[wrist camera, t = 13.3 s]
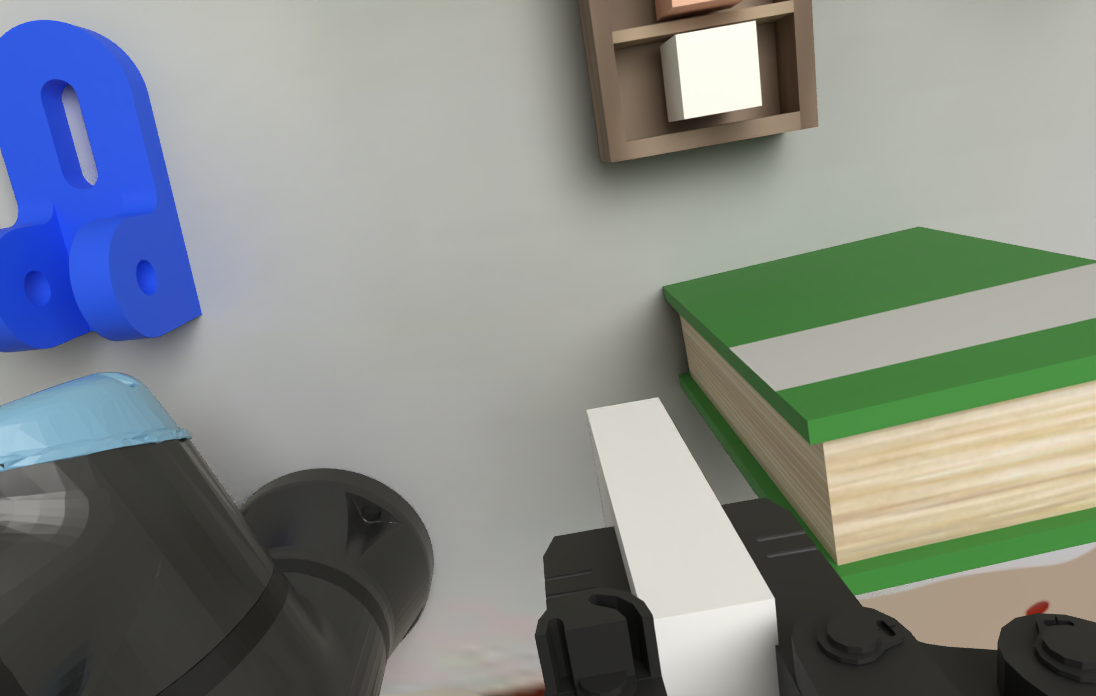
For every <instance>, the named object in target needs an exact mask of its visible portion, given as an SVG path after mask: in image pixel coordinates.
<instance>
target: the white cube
mask: <svg viewBox="0 0 1096 696" xmlns="http://www.w3.org/2000/svg"><path fill="white" fill-rule="evenodd" d="M660 52H661V61H662V70H663V79H664V87H665V96H666V105H667V114H668V122H672V121H678V120H684V119H690V118H695V117H701V116H707V115H712V114H718V113H724V112H729V111H735V110H741V109H746V108H752V107H757V106H762V98H761V85H760V71H759V58H758V45H757V31H756V21H751V22H745V23H740V24H734V25H728V26H722V27H717V28H711V29H705V30H700V31H694V32H688V33H683V34H677V35H674V36H673V37H672V38H670V39H669V40H668V41H666V42H665V43H663V44H662V45H661V46H660Z"/></svg>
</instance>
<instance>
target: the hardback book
mask: <svg viewBox="0 0 1096 696" xmlns="http://www.w3.org/2000/svg"><path fill="white" fill-rule="evenodd" d="M663 291H664V296H665V300H666V301H667V302H668V303H669V304H670V305H671V306H672V307H673V308H674V309H675V310H676V311H677V312H678V313H679V314H680V319H681V325H682V330H683V336H684V341H685V347H686V353H687V358H688V364H689V369H690V372H688V373H684V374H680V375H679V378H680V384H681V387H682V389H683V390H684V392H685V393H686V395H687V396H688V397H689V399H690V400H691V402H692V403H693V405H694V406H695V407H696V409H697V410H698V412H699V413H700V415H701V416H702V417H703V419H704V420H705V422H706V423H707V425H708V426H709V427H710V429H711V430H712V432H713V433H714V435H715V436H716V438H717V439H718V440H719V442H720V443H721V445H722V446H723V448H724V449H725V450H726V452H727V453H728V455H729V456H730V458H731V459H732V460H733V462H734V463H735V465H736V466H737V468H738V469H739V470H740V472H741V473H742V475H743V476H744V478H745V479H746V480H747V482H748V483H749V485H750V486H751V488H752V489H753V491H754V492H755V493H756V495H757V496H758V498H759V499H760V498H767V499H769V500H771V501H773V502H774V503H776V504H778V505H780V506H782V507H783V508H785V509H787V510H789V511H790V512H791V513H792V514H793V516H794V517H795V518H796V520H797V521H798V522H799V524H800V525H801V526H802V528H803V529H804V531H805V534H808V535H809V537H810V538H811V539H812V541H813V542H814V543H815V545H816V547H817V550H820V551H821V553H822V554H823V555H824V557H825V558H826V559H827V560H828V562H829V563H830V564H831V566H832V567H833V568H834V570H835V571H836V572H837V574H838V575H839V576H840V578H841V579H842V580H843V581H844V583H845V584H846V585H847V587H848V588H849V589H850V591H851V592H852V593H853V595H859V594H863V593H868V592H872V591H877V590H881V589H886V588H890V587H895V586H899V585H903V584H908V583H912V582H917V581H921V580H926V579H930V578H935V577H939V576H944V575H948V574H953V573H957V572H962V571H966V570H971V569H975V568H980V567H984V566H989V565H993V564H998V563H1002V562H1006V561H1011V560H1015V559H1020V558H1024V557H1029V556H1033V555H1038V554H1042V553H1047V552H1051V551H1056V550H1060V549H1065V548H1069V547H1074V546H1078V545H1083V544H1087V543H1092V542H1096V260H1090V259H1085V258H1080V257H1075V256H1069V255H1064V254H1059V253H1054V252H1048V251H1043V250H1038V249H1033V248H1027V247H1022V246H1017V245H1012V244H1007V243H1001V242H996V241H991V240H986V239H980V238H975V237H970V236H965V235H959V234H954V233H949V232H944V231H938V230H933V229H928V228H923V227H916V228H911V229H907V230H903V231H898V232H894V233H890V234H886V235H881V236H877V237H873V238H868V239H864V240H860V241H856V242H851V243H847V244H843V245H839V246H834V247H830V248H826V249H821V250H817V251H813V252H809V253H804V254H800V255H796V256H791V257H787V258H783V259H779V260H774V261H770V262H766V263H761V264H757V265H753V266H749V267H744V268H740V269H736V270H732V271H727V272H723V273H719V274H714V275H710V276H706V277H702V278H697V279H693V280H689V281H684V282H680V283H676V284H672V285H667V286H663Z"/></svg>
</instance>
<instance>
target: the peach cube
mask: <svg viewBox="0 0 1096 696" xmlns="http://www.w3.org/2000/svg"><path fill="white" fill-rule="evenodd" d="M741 1H743V0H655V7H656V16H657V21H663V20H669V19H674V18H680V17H686V16H691V15H697V14H703V13H709V12H714V11H720V10H726V9H730V8H732V7H733V6H735V5H737V4H738V3H740V2H741Z"/></svg>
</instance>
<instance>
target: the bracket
mask: <svg viewBox="0 0 1096 696" xmlns="http://www.w3.org/2000/svg"><path fill="white" fill-rule="evenodd" d="M68 84H70V85H71V86H72V87H73V88H74V90H75V92H76V94H77V97H78V100H79V104H80V108H81V111H82V115H83V119H84V122H85V126H86V130H87V133H88V137H89V141H90V145H91V148H92V152H93V156H94V159H95V163H96V167H97V171H98V179H97V182H96V183H95V185H94V186H92V185H91V184H89V183H88V182H87V181H86V180H85V178H84V177H83V174H82V171H81V168H80V164H79V160H78V157H77V153H76V150H75V146H74V142H73V139H72V135H71V132H70V128H69V124H68V121H67V117H66V114H65V110H64V106H63V103H62V92H63V90H64V88H65V87H66V86H67V85H68ZM0 148H1V152H2V155H3V158H4V162H5V165H6V168H7V171H8V175H9V178H10V181H11V184H12V188H13V191H14V194H15V197H16V201H17V204H18V219H17V221H16V223H15V224H14V225H13V226H12V227H9V228H3V229H0V352H18V351H27V350H37V349H47V348H52V347H55V346H57V345H60V344H62V343H64V342H67V341H69V340H71V339H74V338H76V337H79V336H81V335H83V334H86V333H88V332H90V331H96V332H97V333H98V334H99V335H101V336H102V337H104V338H106V339H109V340H112V341H125V340H135V339H144V338H154V337H159V336H162V335H164V334H166V333H168V332H169V331H171V330H173V329H175V328H177V327H179V326H181V325H183V324H185V323H187V322H188V321H190V320H192V319H194V318H196V317H198V316H200V315H202V313H201V309H200V305H199V300H198V296H197V292H196V288H195V284H194V280H193V276H192V272H191V268H190V263H189V259H188V255H187V251H186V247H185V243H184V239H183V235H182V231H181V227H180V222H179V218H178V214H177V210H176V206H175V202H174V198H173V194H172V190H171V185H170V181H169V177H168V173H167V169H166V165H165V161H164V157H163V153H162V148H161V144H160V140H159V136H158V132H157V128H156V124H155V120H154V116H153V111H152V107H151V103H150V99H149V95H148V91H147V88H146V85H145V83H144V80H143V78H142V76H141V74H140V72H139V70H138V69H137V67H136V66H135V64H134V63H133V61H132V60H131V59H130V58H129V56H128V55H127V54H126V53H125V52H124V51H123V50H122V49H121V48H119V47H118V46H117V45H116V44H115V43H113V42H112V41H111V40H109V39H107V38H106V37H104V36H102V35H100V34H98V33H96V32H94V31H91V30H88V29H85V28H81V27H78V26H74V25H71V24H67V23H63V22H59V21H52V20H37V21H31V22H26V23H23V24H20V25H18V26H16V27H14V28H12V29H11V30H9V31H8V32H6V33H5V34H4V35H3V36H2V37H1V38H0Z"/></svg>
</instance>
